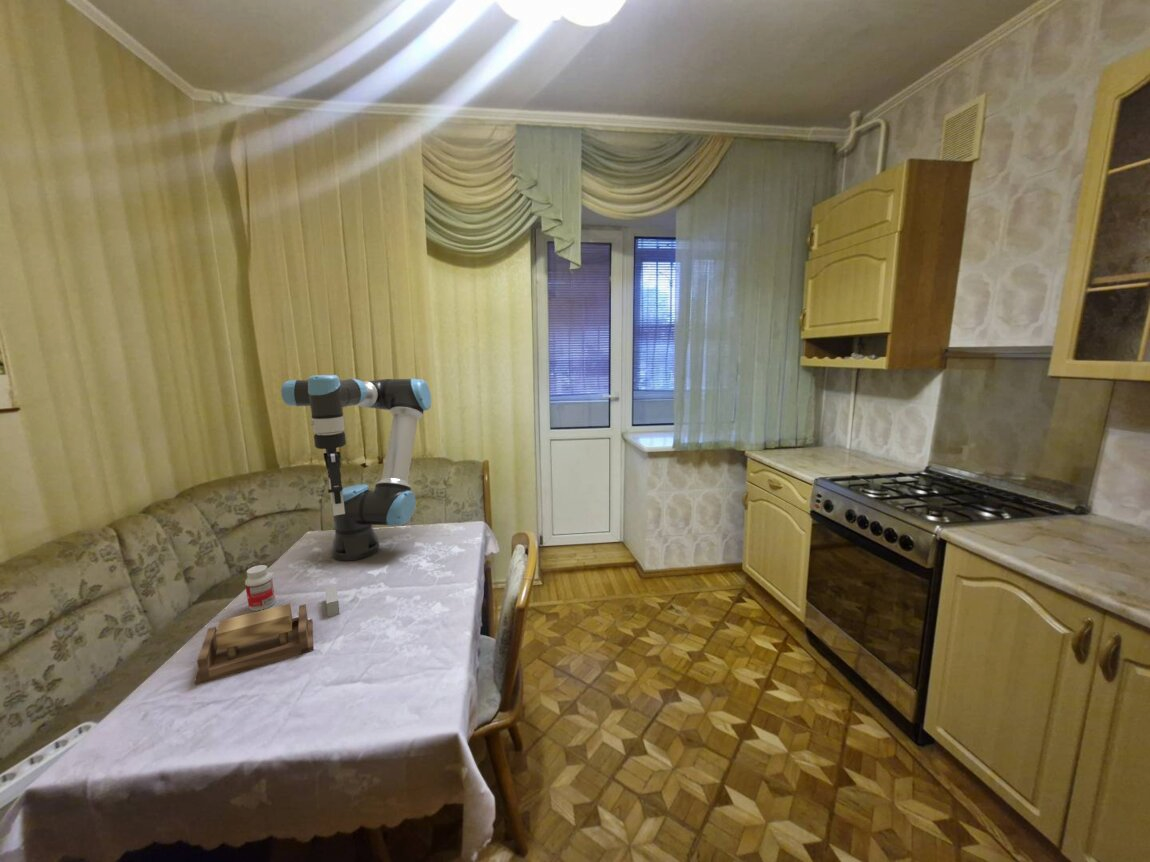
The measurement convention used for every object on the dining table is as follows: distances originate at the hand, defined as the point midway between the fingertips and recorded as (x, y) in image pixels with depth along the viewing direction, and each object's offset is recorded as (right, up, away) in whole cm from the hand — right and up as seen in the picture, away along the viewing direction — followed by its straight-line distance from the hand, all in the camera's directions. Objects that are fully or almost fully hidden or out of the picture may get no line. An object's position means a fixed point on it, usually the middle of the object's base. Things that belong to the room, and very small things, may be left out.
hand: (337, 507), depth 128 cm
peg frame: (-8, -31, -19) cm, 37 cm away
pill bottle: (-21, -28, 0) cm, 35 cm away
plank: (-9, -26, -20) cm, 34 cm away
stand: (-1, -27, -1) cm, 27 cm away
